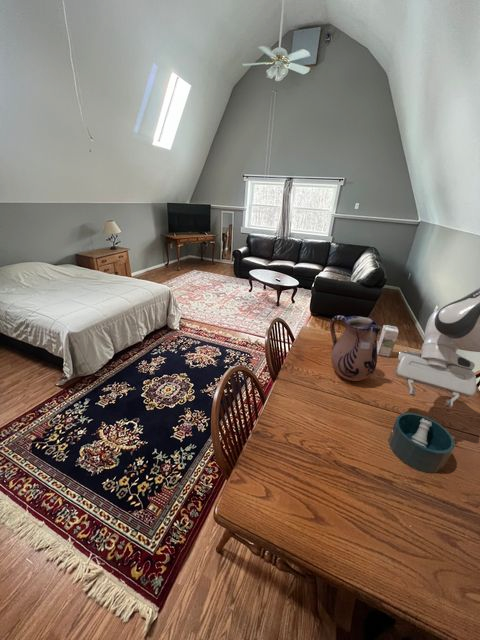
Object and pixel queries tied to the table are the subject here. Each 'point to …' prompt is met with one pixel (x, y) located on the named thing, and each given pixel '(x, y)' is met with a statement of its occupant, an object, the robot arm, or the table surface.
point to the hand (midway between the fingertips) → (429, 400)
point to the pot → (416, 454)
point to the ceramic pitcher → (355, 348)
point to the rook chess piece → (422, 433)
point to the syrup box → (387, 340)
